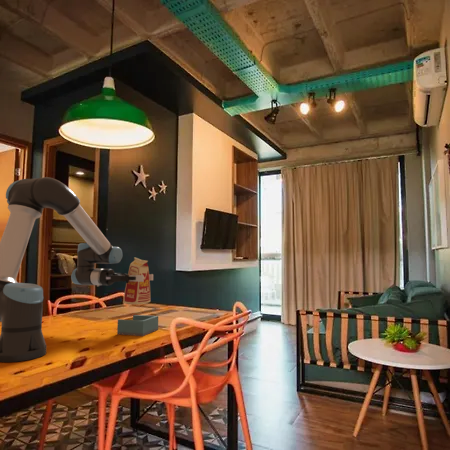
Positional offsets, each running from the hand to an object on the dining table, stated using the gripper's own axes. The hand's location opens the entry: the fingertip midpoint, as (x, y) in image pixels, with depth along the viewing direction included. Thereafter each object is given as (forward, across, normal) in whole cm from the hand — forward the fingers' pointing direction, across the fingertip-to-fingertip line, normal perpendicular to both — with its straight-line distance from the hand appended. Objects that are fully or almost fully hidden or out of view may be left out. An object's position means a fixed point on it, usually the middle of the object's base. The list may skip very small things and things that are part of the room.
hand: (148, 277), depth 154 cm
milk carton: (-5, 0, -11) cm, 12 cm away
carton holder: (-5, 0, -23) cm, 24 cm away
